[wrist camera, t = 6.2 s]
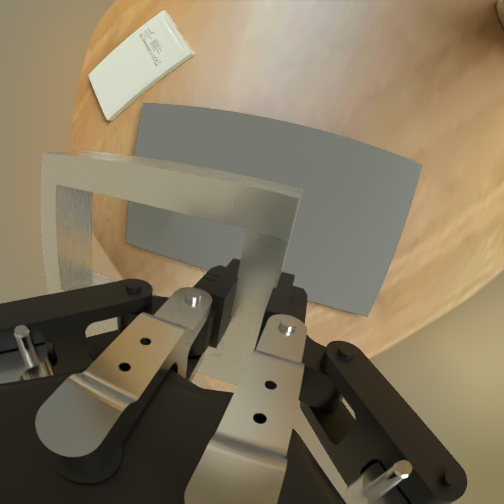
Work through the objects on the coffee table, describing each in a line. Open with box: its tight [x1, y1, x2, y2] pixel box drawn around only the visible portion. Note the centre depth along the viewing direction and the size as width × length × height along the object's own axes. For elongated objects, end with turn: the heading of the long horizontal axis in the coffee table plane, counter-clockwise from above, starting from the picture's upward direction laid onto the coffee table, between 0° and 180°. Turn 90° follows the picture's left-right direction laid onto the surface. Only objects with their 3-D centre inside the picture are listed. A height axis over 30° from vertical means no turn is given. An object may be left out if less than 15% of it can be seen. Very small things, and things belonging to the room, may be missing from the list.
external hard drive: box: [89, 10, 195, 121], centre depth 25 cm, size 2×8×12 cm
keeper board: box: [126, 103, 422, 317], centre depth 24 cm, size 28×16×7 cm, turn 77°
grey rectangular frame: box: [40, 150, 303, 385], centre depth 13 cm, size 13×9×3 cm
